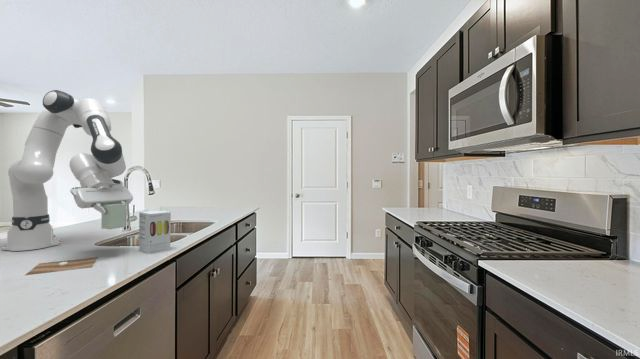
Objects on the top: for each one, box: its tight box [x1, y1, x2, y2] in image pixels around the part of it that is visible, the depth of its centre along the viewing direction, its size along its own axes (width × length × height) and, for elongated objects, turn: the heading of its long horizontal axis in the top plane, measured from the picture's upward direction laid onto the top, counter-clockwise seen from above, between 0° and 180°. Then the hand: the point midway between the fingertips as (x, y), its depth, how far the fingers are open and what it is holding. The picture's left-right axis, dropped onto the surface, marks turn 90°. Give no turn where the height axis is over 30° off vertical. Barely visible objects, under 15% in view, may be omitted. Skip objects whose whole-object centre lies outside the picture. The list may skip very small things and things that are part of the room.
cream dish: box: [59, 262, 67, 267], centre depth 104 cm, size 2×2×1 cm
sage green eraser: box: [101, 204, 127, 230], centre depth 116 cm, size 5×6×9 cm
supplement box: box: [138, 210, 172, 255], centre depth 129 cm, size 10×9×17 cm
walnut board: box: [25, 256, 99, 276], centre depth 104 cm, size 14×17×1 cm
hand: (115, 212), depth 116 cm, fingers closed on sage green eraser, 6 cm apart
